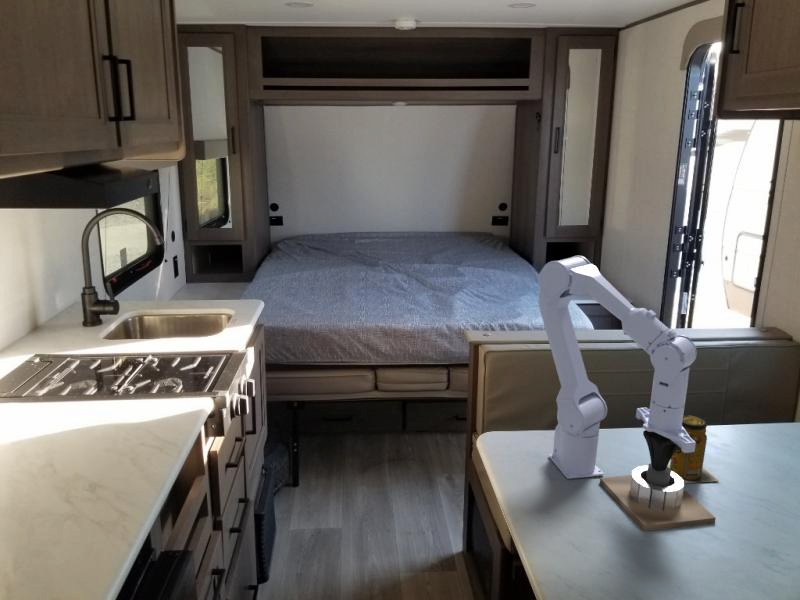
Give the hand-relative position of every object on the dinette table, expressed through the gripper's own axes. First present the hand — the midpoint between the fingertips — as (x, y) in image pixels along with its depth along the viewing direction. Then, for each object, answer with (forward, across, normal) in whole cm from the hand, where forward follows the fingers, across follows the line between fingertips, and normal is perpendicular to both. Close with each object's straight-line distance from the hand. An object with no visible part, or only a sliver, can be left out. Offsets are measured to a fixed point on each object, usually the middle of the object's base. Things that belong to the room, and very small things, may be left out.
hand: (658, 469), depth 119 cm
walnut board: (+7, 0, 0) cm, 7 cm away
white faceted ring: (+7, 0, 0) cm, 7 cm away
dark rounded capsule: (+6, 0, 0) cm, 6 cm away
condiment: (+7, -7, +13) cm, 17 cm away
